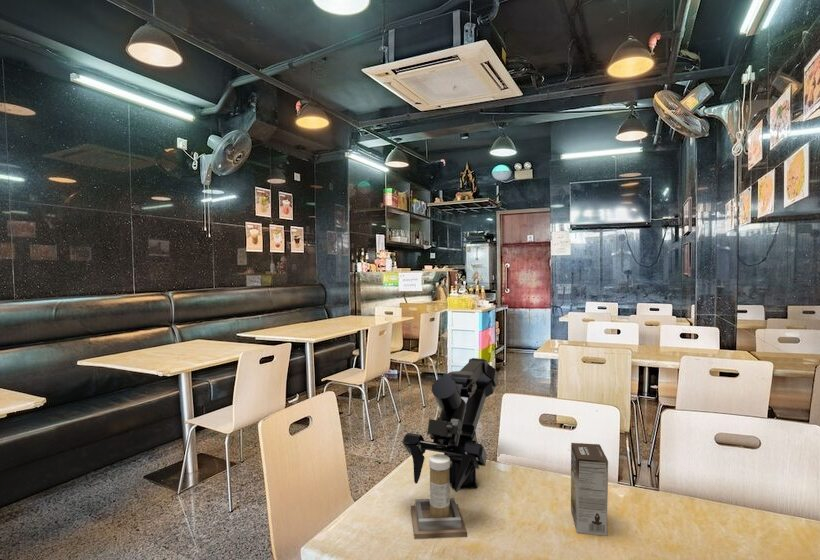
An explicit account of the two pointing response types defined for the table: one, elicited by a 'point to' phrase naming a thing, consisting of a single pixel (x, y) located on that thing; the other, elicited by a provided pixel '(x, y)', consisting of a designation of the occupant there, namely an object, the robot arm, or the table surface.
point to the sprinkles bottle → (439, 486)
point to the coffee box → (589, 488)
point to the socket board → (436, 521)
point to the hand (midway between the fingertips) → (435, 486)
